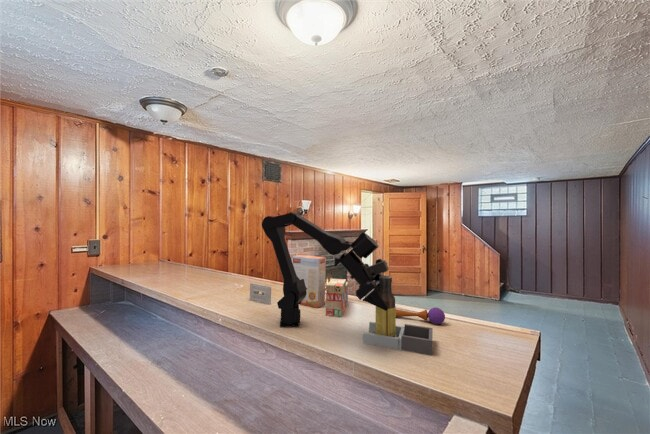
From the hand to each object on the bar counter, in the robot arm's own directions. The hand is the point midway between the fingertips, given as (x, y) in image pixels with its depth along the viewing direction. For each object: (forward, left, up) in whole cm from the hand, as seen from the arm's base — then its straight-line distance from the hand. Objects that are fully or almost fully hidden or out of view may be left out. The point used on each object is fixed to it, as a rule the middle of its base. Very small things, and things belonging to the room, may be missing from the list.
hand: (389, 305), depth 93 cm
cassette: (-44, +42, -11) cm, 62 cm away
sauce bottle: (-1, 0, -11) cm, 11 cm away
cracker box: (-23, +39, -11) cm, 47 cm away
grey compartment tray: (+3, -1, -11) cm, 11 cm away
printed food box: (-11, +33, -11) cm, 36 cm away
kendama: (+17, +18, -11) cm, 27 cm away
